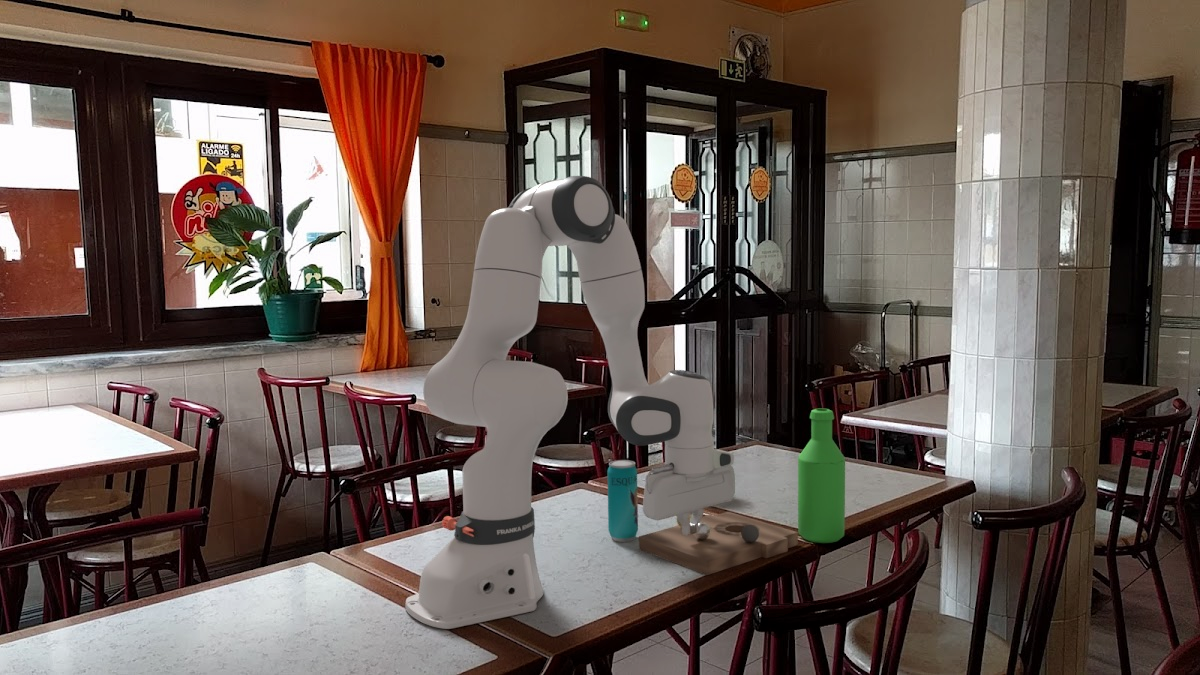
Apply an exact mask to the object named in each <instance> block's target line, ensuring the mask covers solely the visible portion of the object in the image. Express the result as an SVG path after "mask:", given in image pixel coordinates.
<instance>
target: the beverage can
mask: <svg viewBox="0 0 1200 675" xmlns="http://www.w3.org/2000/svg"><path fill="white" fill-rule="evenodd" d="M608 466H609V467H608V468H607V471H606V472H607V518H608V519H607V520H608V521H607V522H608V527H607V528H608V532H609V536H610V538H611V539H612V540H613V541H615V542H618V543H619V542H620V543H628V542H631V541H634V539H636V536H637V535H638V534H637V533H638V530H639V519H638V518H639V516H638V515H639V513H638V511H639V509H638V508H639V506H638V505H639V504H638V500H639V499H638V469H637V467H636V462H635V461H634V460H629V459H617V460H611V461H609V463H608Z"/></svg>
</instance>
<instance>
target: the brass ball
mask: <svg viewBox="0 0 1200 675" xmlns="http://www.w3.org/2000/svg"><path fill="white" fill-rule="evenodd" d="M691 515H692V513H690V517H689V518H688V520H689V521H690V518H691ZM676 524H677V526H678V525H679V526H680V527H681V528H682V525H681V524H680V522H679V520H678V518H677V517H676Z"/></svg>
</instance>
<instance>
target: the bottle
mask: <svg viewBox="0 0 1200 675" xmlns="http://www.w3.org/2000/svg"><path fill="white" fill-rule="evenodd" d="M809 419H810V420H811V431H810V432H811V434H810V435H811V438H810V439H809V441H808V442H807V444H806V445H805V447H804V448H803V450H802V451H801V453H800V454H799V455H798V458H797V459H798V460H797V462H798V464H797V465H798V470H797V472H798V473H797V475H798V476H797V479H798V480H797V488H798V490H797V492H798V493H797V494H798V496H797V499H798V500H797V501H798V502H797V506H798V508H797V509H798V510H797V511H798V514H797V516H798V518H797V520H798V521H797V524H798V525H797V527H798V530H797V532H798V535H800V536H801V537H802V538H803V539H804V540H806V541H808V542H812V543H817V544H830V543H831V544H832V543H836V542H839V541H840V540H841V539H842V538H843V537H845V529H846V528H845V524H846V522H845V521H846V520H845V519H846V517H845V513H846V512H845V511H846V509H845V508H846V506H845V505H846V458H845V456H844V454H843V453H842V452H841V450H840V449H839V447H838V446H837V444H836V443H835V441H834V440H833V420H834V419H835V415H834V412H833V410H830V409H829V408H814V409H812V410H811V412H810V414H809Z"/></svg>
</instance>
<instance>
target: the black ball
mask: <svg viewBox="0 0 1200 675" xmlns="http://www.w3.org/2000/svg"><path fill="white" fill-rule="evenodd" d="M741 536H742V538H743V539H744V540H745V541H746V542H749V543H751V542H754V541H756V540H757V539H758V537H759V531H758V529H757V528H756V527H755V526H753V525H746V526H744V527H743V529H742V531H741Z"/></svg>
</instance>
